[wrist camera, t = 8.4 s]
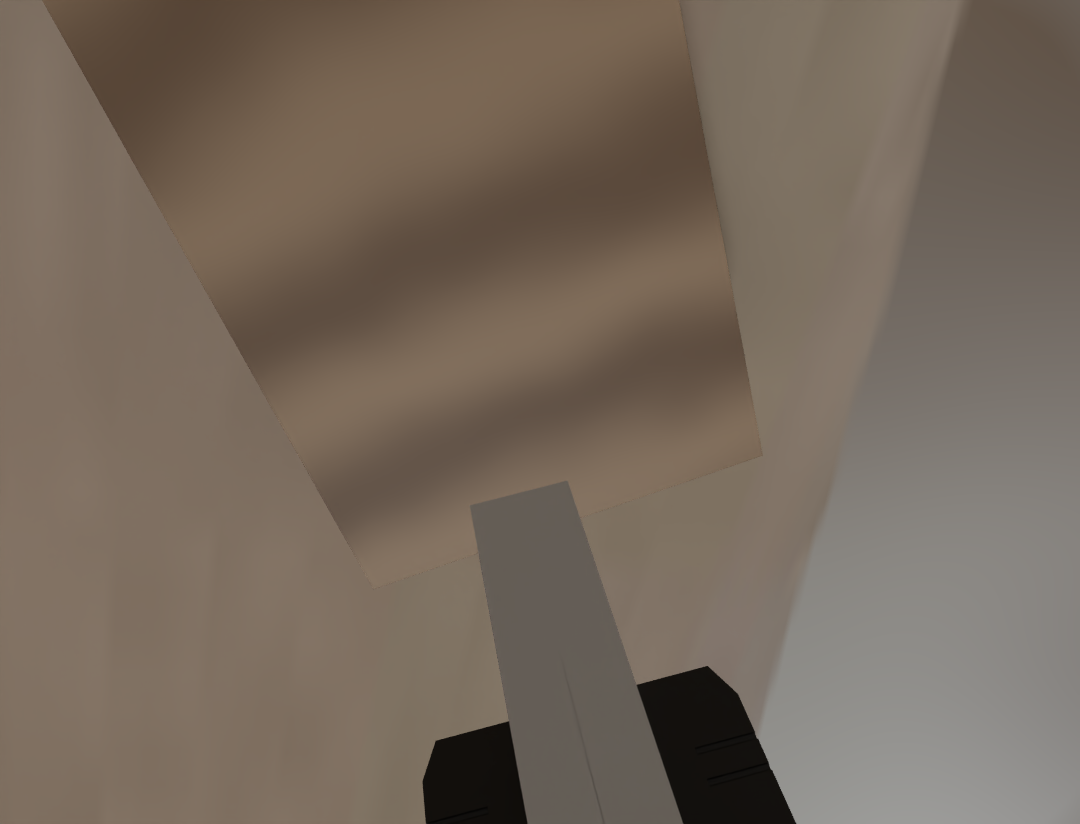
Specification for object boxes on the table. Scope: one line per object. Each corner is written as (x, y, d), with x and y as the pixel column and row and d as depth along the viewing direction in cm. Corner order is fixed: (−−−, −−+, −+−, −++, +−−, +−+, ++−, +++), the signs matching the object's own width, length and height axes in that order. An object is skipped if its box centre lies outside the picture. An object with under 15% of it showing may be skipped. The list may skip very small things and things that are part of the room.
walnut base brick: (48, -138, 24) (-29, -126, 19) (557, -319, 24) (613, -353, 19) (369, 483, 36) (373, 589, 31) (705, 367, 36) (762, 455, 31)
